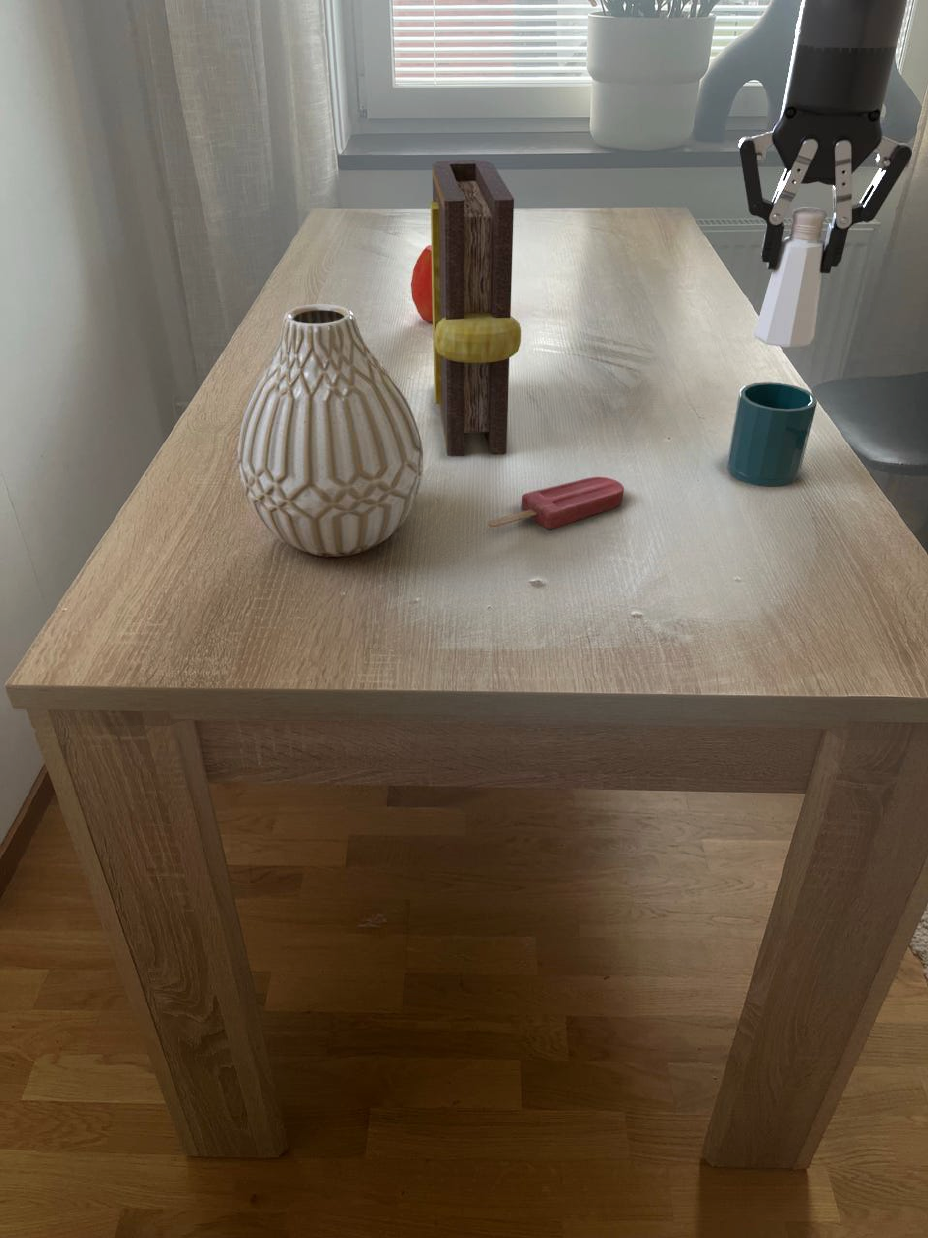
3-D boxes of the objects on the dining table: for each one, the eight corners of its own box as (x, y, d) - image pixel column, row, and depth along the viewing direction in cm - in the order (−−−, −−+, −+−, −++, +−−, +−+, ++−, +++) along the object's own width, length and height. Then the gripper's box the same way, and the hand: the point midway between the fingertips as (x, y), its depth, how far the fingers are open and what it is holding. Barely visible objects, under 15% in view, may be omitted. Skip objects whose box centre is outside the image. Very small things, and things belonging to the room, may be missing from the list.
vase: (322, 477, 93) (301, 274, 81) (457, 517, 87) (456, 302, 75) (212, 549, 82) (170, 325, 70) (358, 600, 75) (339, 363, 64)
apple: (467, 309, 136) (468, 233, 130) (469, 327, 130) (470, 248, 124) (412, 309, 136) (409, 233, 130) (411, 328, 130) (408, 248, 123)
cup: (807, 465, 95) (825, 391, 91) (786, 493, 91) (804, 416, 86) (740, 448, 99) (754, 376, 94) (716, 474, 94) (729, 400, 89)
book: (426, 386, 113) (420, 160, 98) (495, 383, 113) (500, 159, 98) (438, 468, 95) (434, 208, 80) (520, 465, 95) (531, 206, 81)
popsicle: (476, 506, 85) (604, 470, 91) (475, 523, 86) (603, 486, 92) (503, 527, 81) (634, 488, 88) (502, 544, 82) (632, 504, 89)
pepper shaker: (807, 329, 87) (835, 203, 80) (820, 349, 82) (850, 217, 76) (748, 327, 87) (771, 201, 80) (757, 347, 83) (783, 216, 76)
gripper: (752, 40, 69) (715, 275, 79) (954, 44, 67) (889, 287, 77) (749, 33, 75) (715, 253, 85) (935, 37, 73) (877, 262, 83)
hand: (798, 268), depth 81 cm, fingers closed on pepper shaker, 4 cm apart
